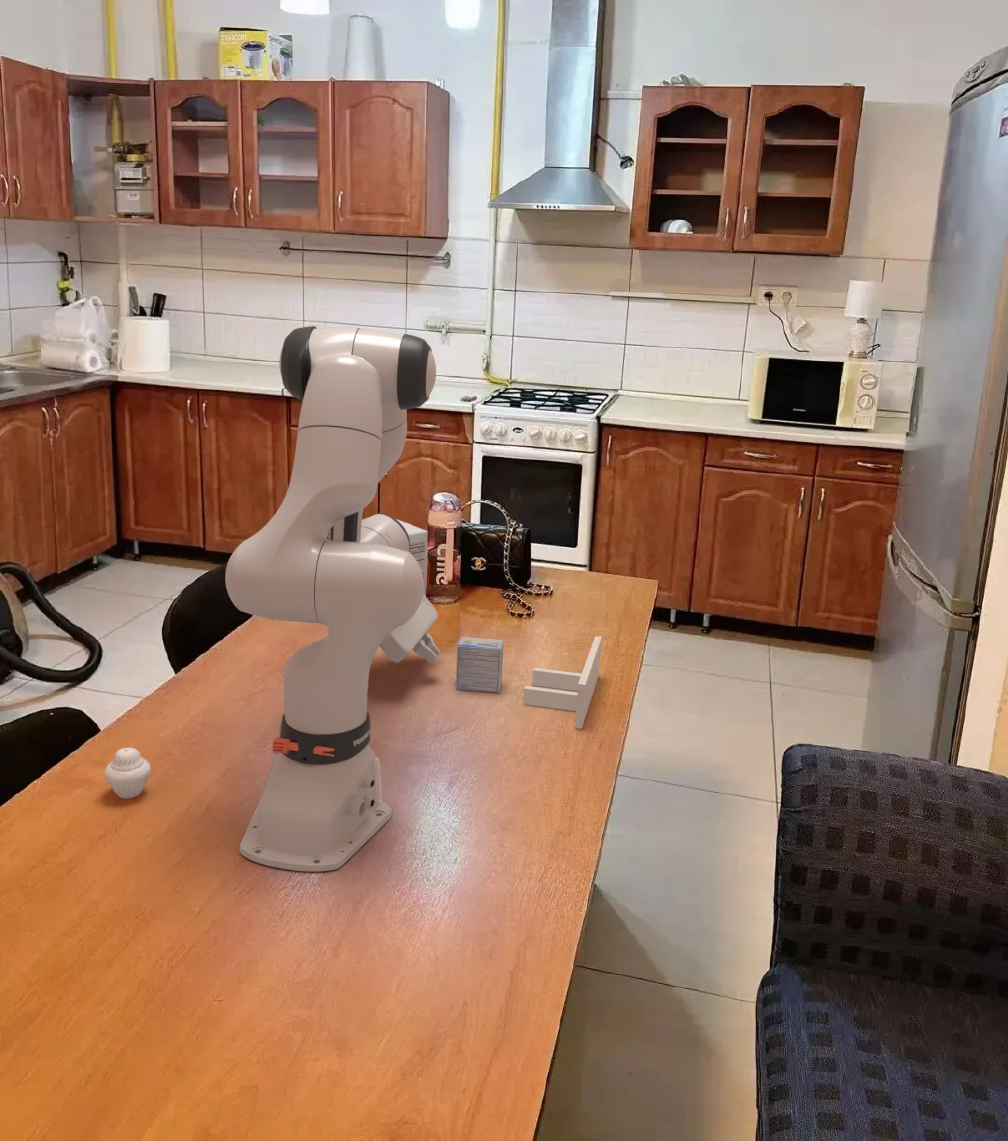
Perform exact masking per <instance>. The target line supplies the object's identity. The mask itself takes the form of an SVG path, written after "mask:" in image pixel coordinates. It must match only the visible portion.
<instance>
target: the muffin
mask: <svg viewBox="0 0 1008 1141" xmlns="http://www.w3.org/2000/svg"><path fill="white" fill-rule="evenodd" d="M112 757H113V759H111V761H110V763H108V765H107V766H106V767H105V770H104V778H105V780H106V781H107V784H108V785H109V786H110V788H111V789H112V790H113V791H114V793H115V794H116V795H117V796H118V797H119V798H121V799H126V800H127V799H133V798H136V797H139V795H141V793H142V792H143V790H144V788H145V786H146V784H147V782H148V780H149V777H150V774H151V771H152V770H151V769H152V767H151V764H150V763H149V761H148V760H147V759H145V758H143V757H142V756H141V753H140V751H139V750H138V749H136V748H133V747H123V748H119V750H117V751H116V752H115V753H114V755H113V756H112Z"/></svg>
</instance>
